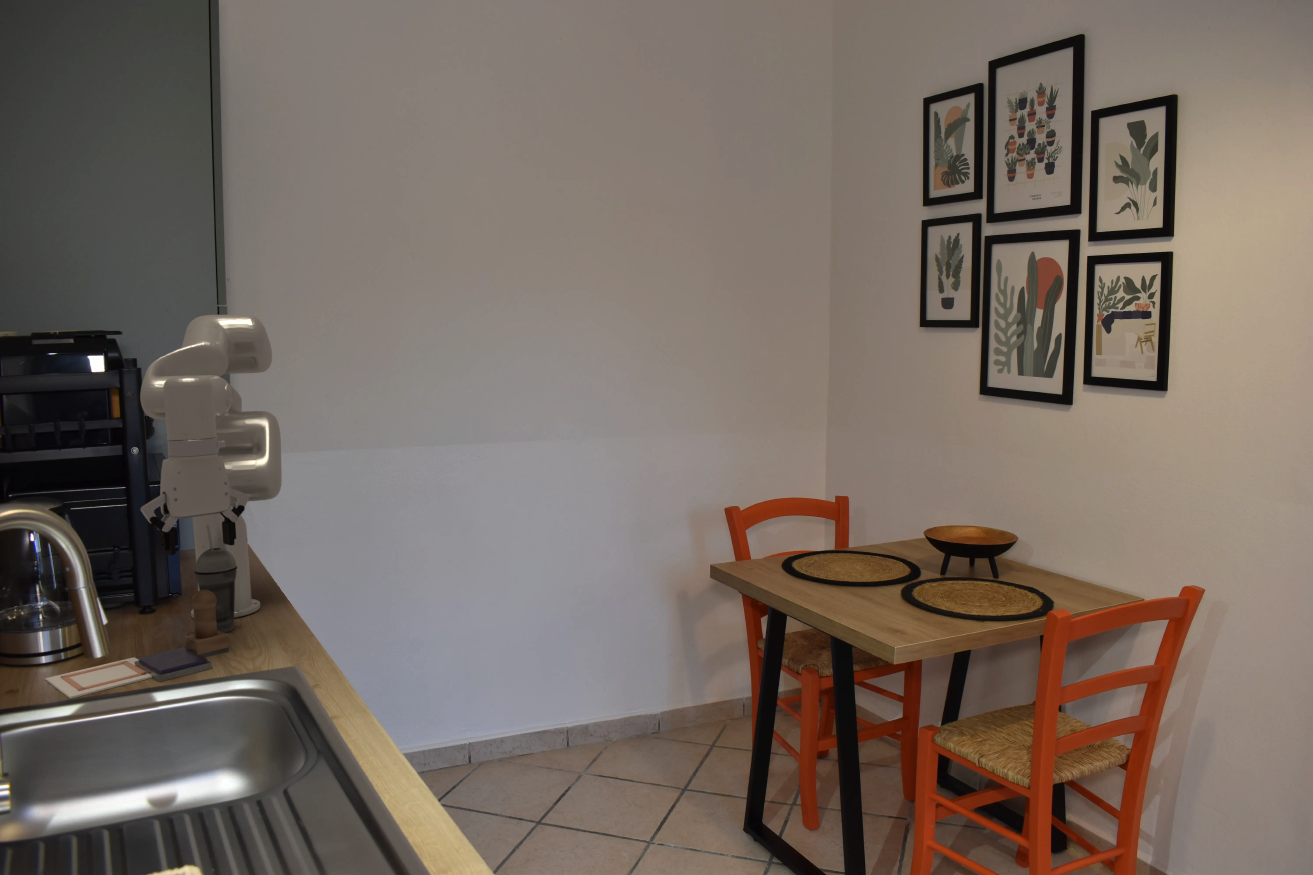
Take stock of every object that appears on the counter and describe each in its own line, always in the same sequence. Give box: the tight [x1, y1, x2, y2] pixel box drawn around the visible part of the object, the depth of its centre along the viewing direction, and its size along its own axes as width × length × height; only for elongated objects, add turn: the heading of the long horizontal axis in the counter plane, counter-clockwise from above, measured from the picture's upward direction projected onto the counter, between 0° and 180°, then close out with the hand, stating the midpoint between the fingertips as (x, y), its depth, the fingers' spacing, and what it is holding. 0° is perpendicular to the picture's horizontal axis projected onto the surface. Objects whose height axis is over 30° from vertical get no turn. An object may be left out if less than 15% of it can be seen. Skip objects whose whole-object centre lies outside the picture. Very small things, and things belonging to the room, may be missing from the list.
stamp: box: [184, 590, 230, 659], centre depth 158 cm, size 5×5×11 cm
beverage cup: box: [194, 525, 237, 634], centre depth 171 cm, size 7×7×20 cm
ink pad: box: [135, 646, 213, 683], centre depth 151 cm, size 11×8×2 cm
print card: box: [44, 657, 154, 699], centre depth 147 cm, size 13×13×1 cm
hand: (200, 549), depth 157 cm, fingers open, 9 cm apart
